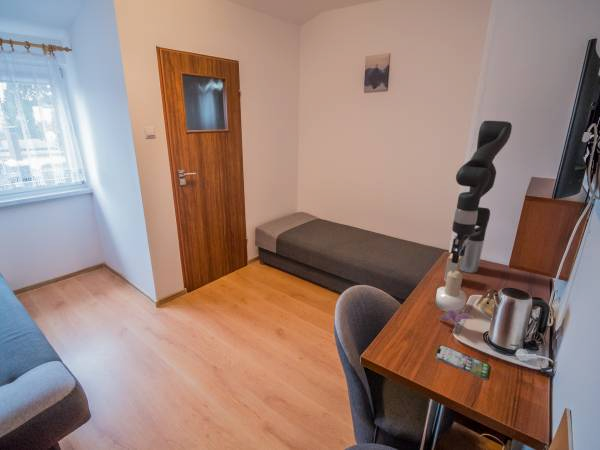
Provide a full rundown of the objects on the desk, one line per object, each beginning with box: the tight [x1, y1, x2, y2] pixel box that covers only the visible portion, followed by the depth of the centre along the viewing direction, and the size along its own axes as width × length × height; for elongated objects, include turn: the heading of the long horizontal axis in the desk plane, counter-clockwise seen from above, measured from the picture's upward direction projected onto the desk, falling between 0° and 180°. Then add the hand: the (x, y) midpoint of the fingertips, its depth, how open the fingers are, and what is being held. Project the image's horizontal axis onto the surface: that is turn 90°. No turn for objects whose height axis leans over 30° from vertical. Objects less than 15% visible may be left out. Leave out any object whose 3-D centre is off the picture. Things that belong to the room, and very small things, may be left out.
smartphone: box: [434, 344, 491, 380], centre depth 97 cm, size 7×1×15 cm
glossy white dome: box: [434, 286, 468, 314], centre depth 125 cm, size 11×11×6 cm
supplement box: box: [443, 252, 462, 283], centre depth 144 cm, size 8×5×13 cm, turn 143°
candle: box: [445, 270, 464, 297], centre depth 123 cm, size 6×6×10 cm
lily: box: [437, 310, 475, 334], centre depth 111 cm, size 12×12×10 cm
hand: (457, 258), depth 119 cm, fingers open, 8 cm apart
